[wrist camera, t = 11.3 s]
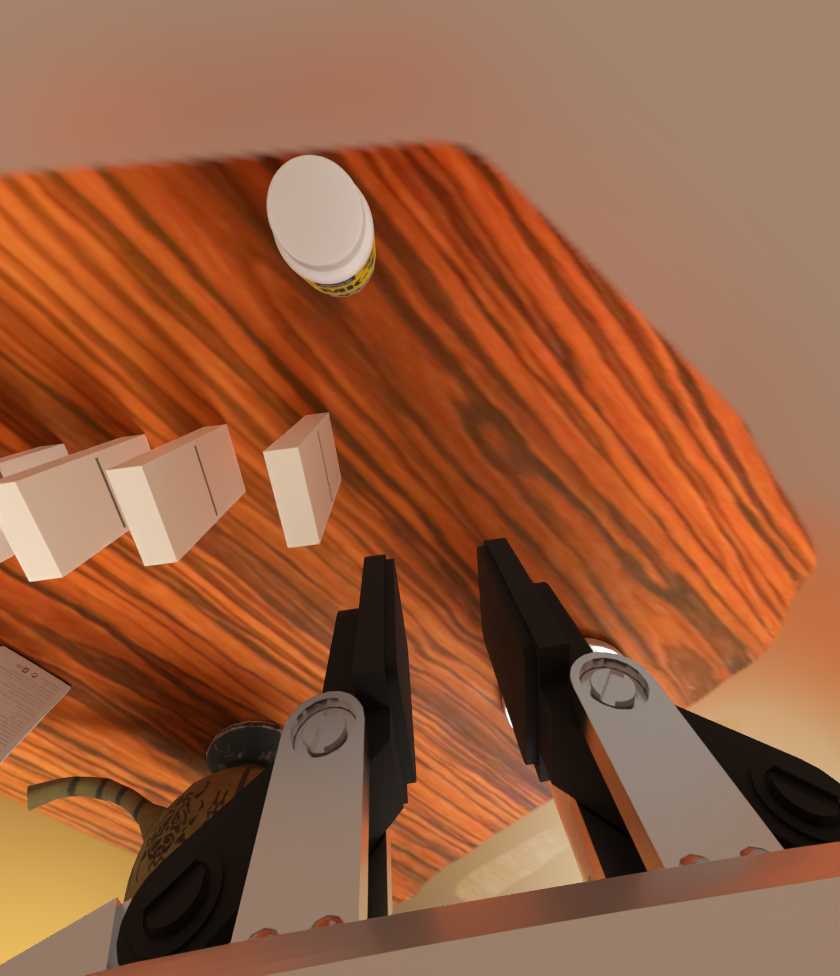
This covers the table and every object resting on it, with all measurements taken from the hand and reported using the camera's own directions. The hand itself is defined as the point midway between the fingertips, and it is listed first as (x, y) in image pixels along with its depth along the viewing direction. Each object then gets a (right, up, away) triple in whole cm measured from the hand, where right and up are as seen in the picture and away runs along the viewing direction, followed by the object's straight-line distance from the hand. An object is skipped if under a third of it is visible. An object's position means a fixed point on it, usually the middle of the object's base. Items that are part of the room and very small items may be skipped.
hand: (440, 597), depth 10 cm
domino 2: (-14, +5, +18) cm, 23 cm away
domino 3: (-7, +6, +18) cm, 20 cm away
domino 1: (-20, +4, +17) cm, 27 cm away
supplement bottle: (-6, +17, +14) cm, 23 cm away
